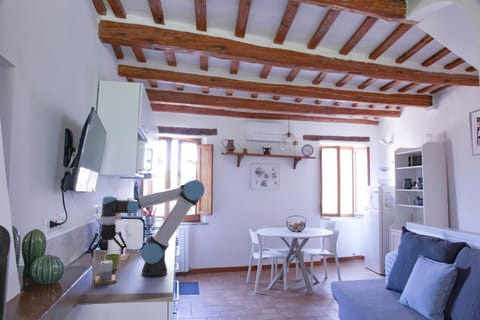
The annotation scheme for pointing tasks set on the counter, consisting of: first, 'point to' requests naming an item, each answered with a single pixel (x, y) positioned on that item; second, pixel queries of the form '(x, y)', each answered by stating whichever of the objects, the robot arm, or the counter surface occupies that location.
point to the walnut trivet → (98, 281)
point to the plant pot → (113, 259)
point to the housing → (106, 270)
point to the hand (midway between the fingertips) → (107, 261)
